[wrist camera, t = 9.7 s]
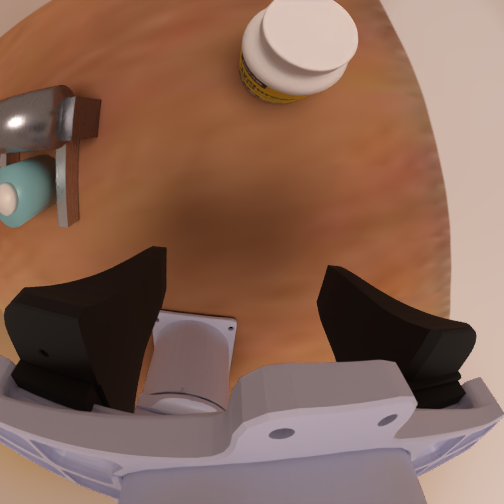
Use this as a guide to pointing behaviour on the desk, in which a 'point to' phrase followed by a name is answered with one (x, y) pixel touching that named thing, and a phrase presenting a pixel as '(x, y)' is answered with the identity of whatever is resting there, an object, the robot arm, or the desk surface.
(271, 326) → the desk surface
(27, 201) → the teal cylinder
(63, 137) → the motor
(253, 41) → the supplement bottle
